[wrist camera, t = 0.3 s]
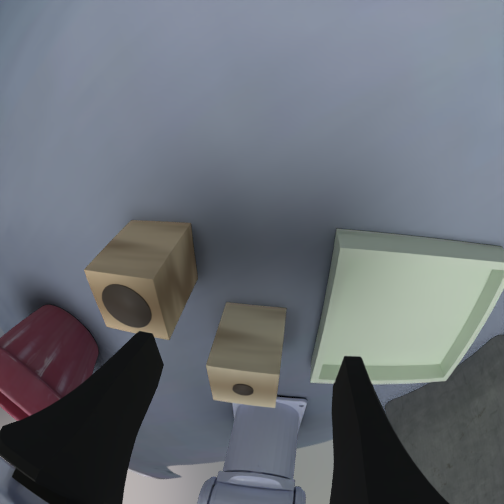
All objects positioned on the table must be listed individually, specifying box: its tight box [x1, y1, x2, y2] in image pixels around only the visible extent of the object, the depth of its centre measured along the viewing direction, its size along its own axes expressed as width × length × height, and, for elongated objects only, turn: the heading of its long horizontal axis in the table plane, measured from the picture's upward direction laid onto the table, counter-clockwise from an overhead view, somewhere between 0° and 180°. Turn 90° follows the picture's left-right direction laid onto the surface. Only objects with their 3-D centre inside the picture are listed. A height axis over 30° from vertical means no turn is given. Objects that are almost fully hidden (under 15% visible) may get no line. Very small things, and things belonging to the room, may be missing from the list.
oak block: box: [84, 220, 198, 340], centre depth 18 cm, size 4×4×6 cm
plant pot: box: [0, 305, 98, 421], centre depth 24 cm, size 14×14×13 cm
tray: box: [310, 229, 504, 384], centre depth 19 cm, size 13×13×2 cm
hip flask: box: [385, 335, 504, 504], centre depth 16 cm, size 16×4×20 cm, turn 143°
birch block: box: [206, 302, 286, 408], centre depth 21 cm, size 4×4×6 cm
